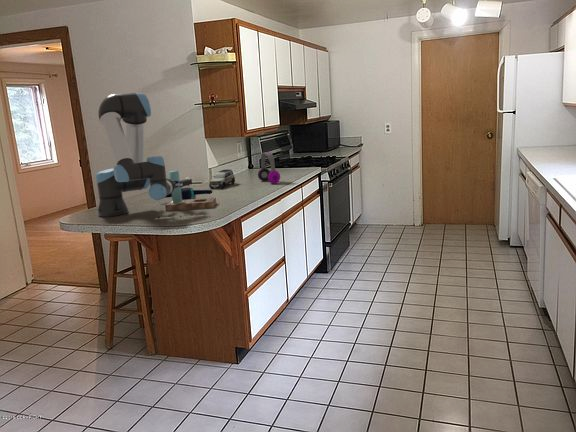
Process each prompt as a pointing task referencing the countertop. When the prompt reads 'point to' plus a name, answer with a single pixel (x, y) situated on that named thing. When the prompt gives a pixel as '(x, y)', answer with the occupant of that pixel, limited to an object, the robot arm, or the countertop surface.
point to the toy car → (222, 179)
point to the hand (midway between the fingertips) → (175, 180)
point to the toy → (190, 193)
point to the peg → (177, 191)
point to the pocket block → (191, 204)
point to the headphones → (265, 173)
